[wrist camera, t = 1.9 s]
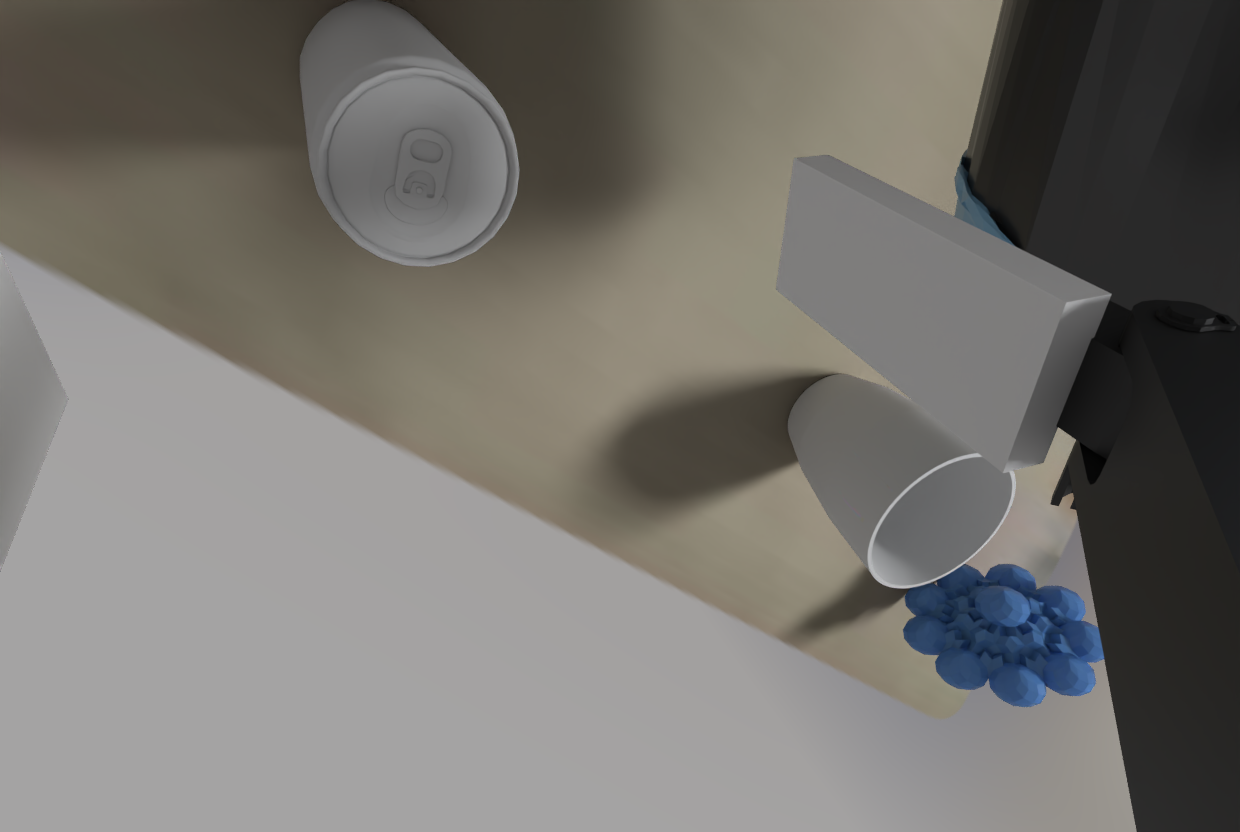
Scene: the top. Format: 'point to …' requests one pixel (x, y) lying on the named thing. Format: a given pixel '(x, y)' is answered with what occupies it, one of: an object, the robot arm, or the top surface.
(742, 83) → the top surface
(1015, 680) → the grapes
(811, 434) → the cup
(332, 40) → the beverage can
